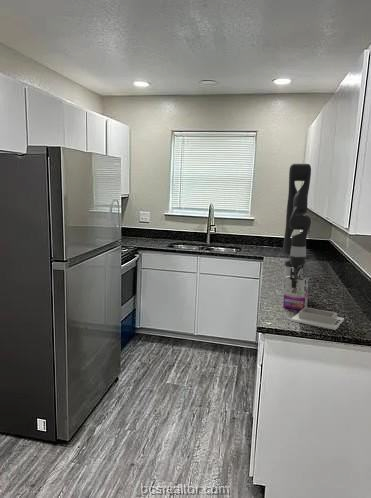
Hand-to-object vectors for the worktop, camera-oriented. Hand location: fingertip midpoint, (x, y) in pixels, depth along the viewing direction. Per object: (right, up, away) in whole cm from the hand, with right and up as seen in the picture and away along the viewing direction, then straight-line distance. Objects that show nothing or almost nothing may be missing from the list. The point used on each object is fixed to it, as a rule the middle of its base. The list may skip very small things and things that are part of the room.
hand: (296, 286), depth 191 cm
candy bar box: (0, -12, +2) cm, 12 cm away
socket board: (+5, -14, -17) cm, 23 cm away
